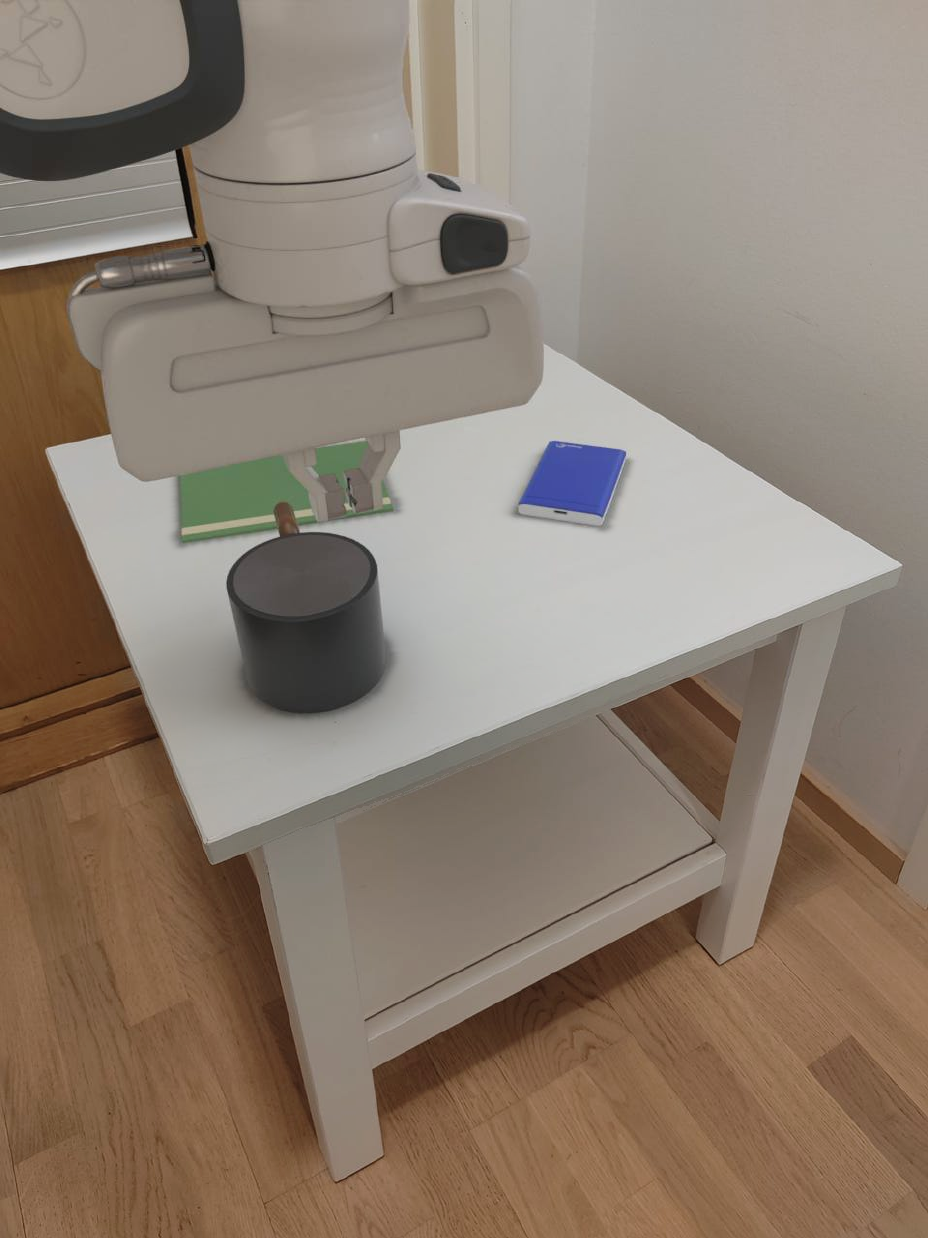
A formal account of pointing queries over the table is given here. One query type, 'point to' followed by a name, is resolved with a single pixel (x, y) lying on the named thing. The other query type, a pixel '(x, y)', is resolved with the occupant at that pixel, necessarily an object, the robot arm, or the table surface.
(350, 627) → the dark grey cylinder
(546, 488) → the hard drive
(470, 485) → the table surface
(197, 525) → the green book
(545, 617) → the table surface
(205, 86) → the robot arm
